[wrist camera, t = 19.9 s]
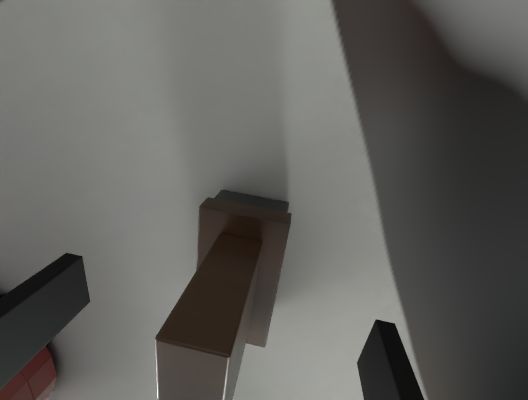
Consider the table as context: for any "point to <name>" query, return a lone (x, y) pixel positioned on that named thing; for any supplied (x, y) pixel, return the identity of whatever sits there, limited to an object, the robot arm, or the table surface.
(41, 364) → the bowl
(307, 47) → the table surface
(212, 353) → the brown block stand
